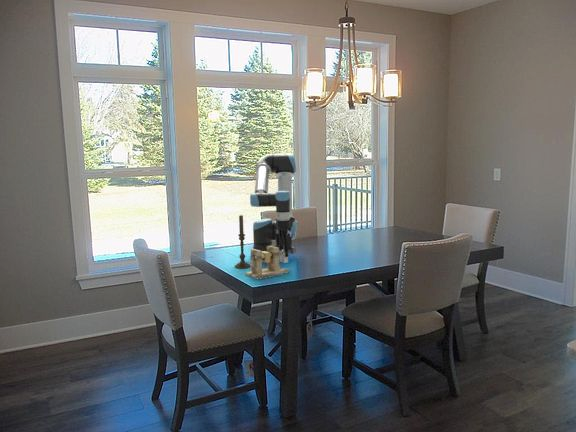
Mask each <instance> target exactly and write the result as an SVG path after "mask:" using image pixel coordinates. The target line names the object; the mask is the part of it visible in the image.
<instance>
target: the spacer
mask: <svg viewBox="0 0 576 432" xmlns="http://www.w3.org/2000/svg"><path fill="white" fill-rule="evenodd" d="M262 254H264V255H265V258H263V259H262V263H265V264H267V262H270V252H267V251H262Z"/></svg>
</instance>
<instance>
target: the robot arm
mask: <svg viewBox="0 0 576 432" xmlns="http://www.w3.org/2000/svg"><path fill="white" fill-rule="evenodd" d="M296 167H297V166H296V158H295V155H294V154H293V153H267V154H265V155H263V156H262V157H261V158H260V159H259V160H258V161H257V162H256V164H255V168H254V171H255V173H256V174H255V175H256V176H255V186H254V187H255V188H254V192H253V193H250V196H249V201H250V203H249V204H250V206H251V207H253V208H254V207H255V208H259V207H260V208H261V207H262V208H263V207H265V208H266V207H275V212H276V213H275V220H273V219H272V218H262V219H257V220H254V222H253V224H252V230H253V232H252V233H253V246H252V249H257V250H260V251H267V246H274V244H273V242H274V241H275V243H276V244H275V245H276V246H275V247H279V251H280V250H283V255H279V263H282V262H283V264H285V263H286V264H287V263H289V253H288V251H289V250H291V247H292V243H293V240H295V239H296V236H297V227H298V220H296V217H295V216H294V215H293V185H292V184H293V179H292V178H293V177H294V176H295V173H296V172H297V168H296ZM271 173H273V174H274V173H275V177H277V191H276V192H269V181H270V180H269V178H270V174H271Z"/></svg>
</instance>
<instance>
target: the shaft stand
mask: <svg viewBox="0 0 576 432" xmlns="http://www.w3.org/2000/svg"><path fill="white" fill-rule="evenodd" d="M267 252H272V256H273V257H270V262H267V263H266V267H263V262H262V251H260V250H257V249H253V248H251V249H250V265H251V267H250V271H246V272H245V276H247V275H249V276H248V277H250V276H252V277H251V278H253V277H255V278H254V279H256V278H258V279H259V280H261V279H260V278H264V279H266V278H265V277H268V278H270V277H269V276H272V277H275V276H274V275H276V276H280V275H279V274H281V275H284V274H283V273H285V274H287V273H288V272H289V273H290V269H287V268H284V267H282V266H280V255H279V247H277V246H274V245H273V246H267ZM255 255H256V260H255V259H254V256H255ZM289 273H288V274H289ZM258 279H257V280H258Z"/></svg>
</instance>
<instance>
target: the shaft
mask: <svg viewBox="0 0 576 432" xmlns="http://www.w3.org/2000/svg"><path fill="white" fill-rule="evenodd" d="M296 252H297V249H296V247H295V246H291V250H289V251H288V254H290V255H294V254H296ZM280 255H283V250H280V251H279V256H280ZM270 257H273V256H272V252H270ZM263 258H265V255H264V254H262V259H263ZM254 259H255V260H256V255H255V256H254Z"/></svg>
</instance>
